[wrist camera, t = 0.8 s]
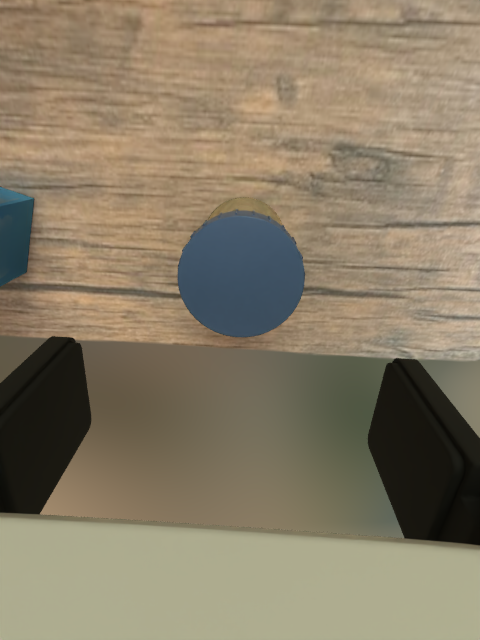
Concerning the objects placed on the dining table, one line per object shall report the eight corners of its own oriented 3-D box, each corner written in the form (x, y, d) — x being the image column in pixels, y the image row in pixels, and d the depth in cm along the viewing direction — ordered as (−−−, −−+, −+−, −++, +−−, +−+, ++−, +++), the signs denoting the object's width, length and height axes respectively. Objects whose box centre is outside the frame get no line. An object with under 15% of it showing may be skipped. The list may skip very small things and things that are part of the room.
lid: (309, 213, 20) (314, 219, 18) (294, 327, 23) (297, 342, 21) (181, 205, 20) (175, 210, 18) (182, 320, 23) (177, 334, 21)
